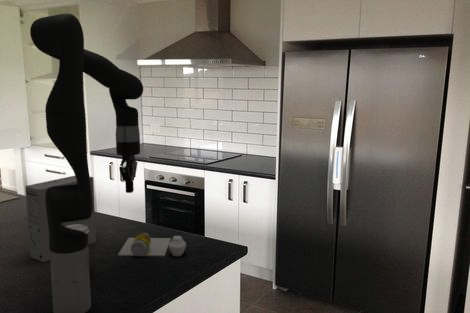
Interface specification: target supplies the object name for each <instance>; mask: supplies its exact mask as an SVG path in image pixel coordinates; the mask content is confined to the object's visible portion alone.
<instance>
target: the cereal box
mask: <svg viewBox="0 0 470 313" xmlns="http://www.w3.org/2000/svg"><path fill="white" fill-rule="evenodd" d="M74 184H77V180H76V176H75V175H71V176H67V177H61V178H56V179H53V180H47V181H43V182H38V183H33V184H28V185H25V199H26V213H27V227H28V242H29V256H30V258H31V259H32V260H33V259H34V260H36V261H39V262H41V263H46V262H48V261H49V262H50V250H49V229H48V221H47V213H46V204H45V194H46V191H47V189H48V188H49V187H53V186H62V185H74ZM90 184H91V192H92V202H93V210H92V215H91V217H90V218H89V219H85V220H78V221H71V222H63V223H62V225H63V226H68V225H73V224H83V225H85V226H87V227H88V229H89V233H88V246H89V245H92V244H95V243H96V242H97V234H96V233H97V232H96V231H97V230H96V229H97V228H96V209H95V208H96V207H95V206H96V205H95V186H94V185H95V183H94V177H93V176H90Z"/></svg>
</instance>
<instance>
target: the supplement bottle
mask: <svg viewBox="0 0 470 313" xmlns="http://www.w3.org/2000/svg"><path fill="white" fill-rule="evenodd" d="M134 238H135V240H134V241H133V243H132V245H131V251H132V253H133V254H134V255H136V256H135V257H143V256H142V255H144V254H145V253H146V251H147V249H148V247H149V245H150V242H151V239H150V238H151V236H150V235H149V234H148V233H147V232H141V233H140V232H139V233H138V234H137V235H136V236H135V237H134Z"/></svg>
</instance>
